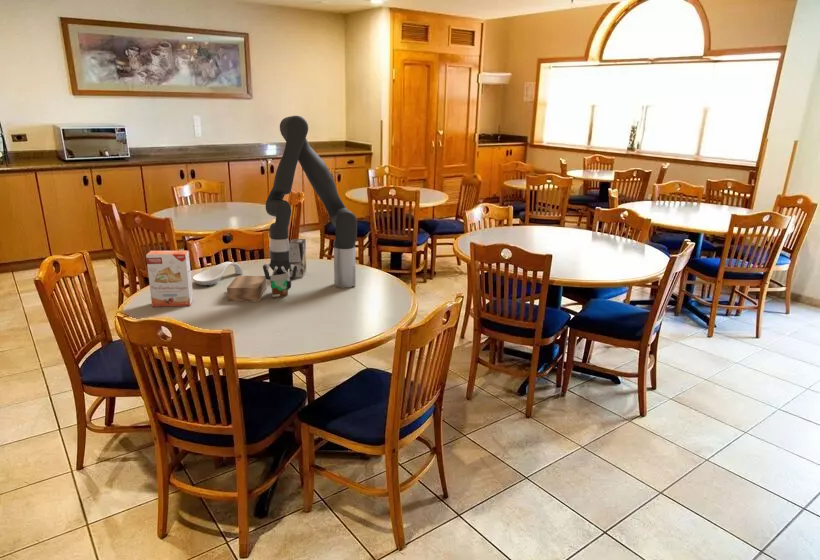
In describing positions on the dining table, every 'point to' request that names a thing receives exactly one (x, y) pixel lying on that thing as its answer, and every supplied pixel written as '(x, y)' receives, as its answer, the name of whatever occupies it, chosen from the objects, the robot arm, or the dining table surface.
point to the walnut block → (246, 288)
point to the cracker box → (169, 278)
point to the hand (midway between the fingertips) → (281, 288)
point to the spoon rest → (215, 274)
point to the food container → (279, 285)
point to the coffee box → (298, 256)
